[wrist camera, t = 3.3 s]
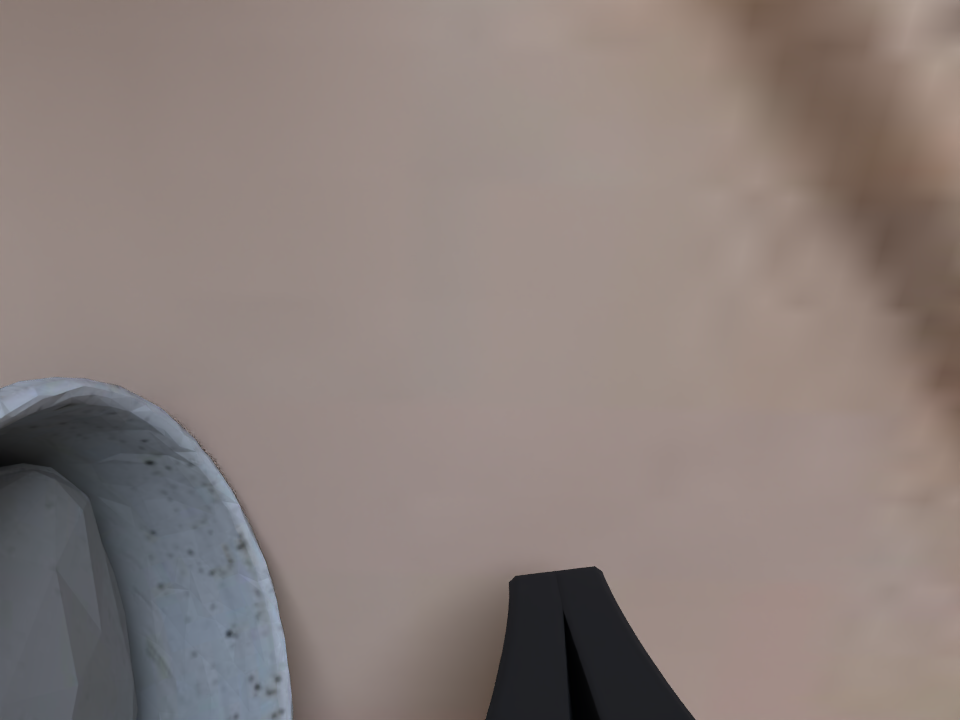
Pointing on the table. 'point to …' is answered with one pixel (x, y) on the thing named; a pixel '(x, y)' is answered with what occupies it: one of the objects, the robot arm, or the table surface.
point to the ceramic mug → (126, 568)
